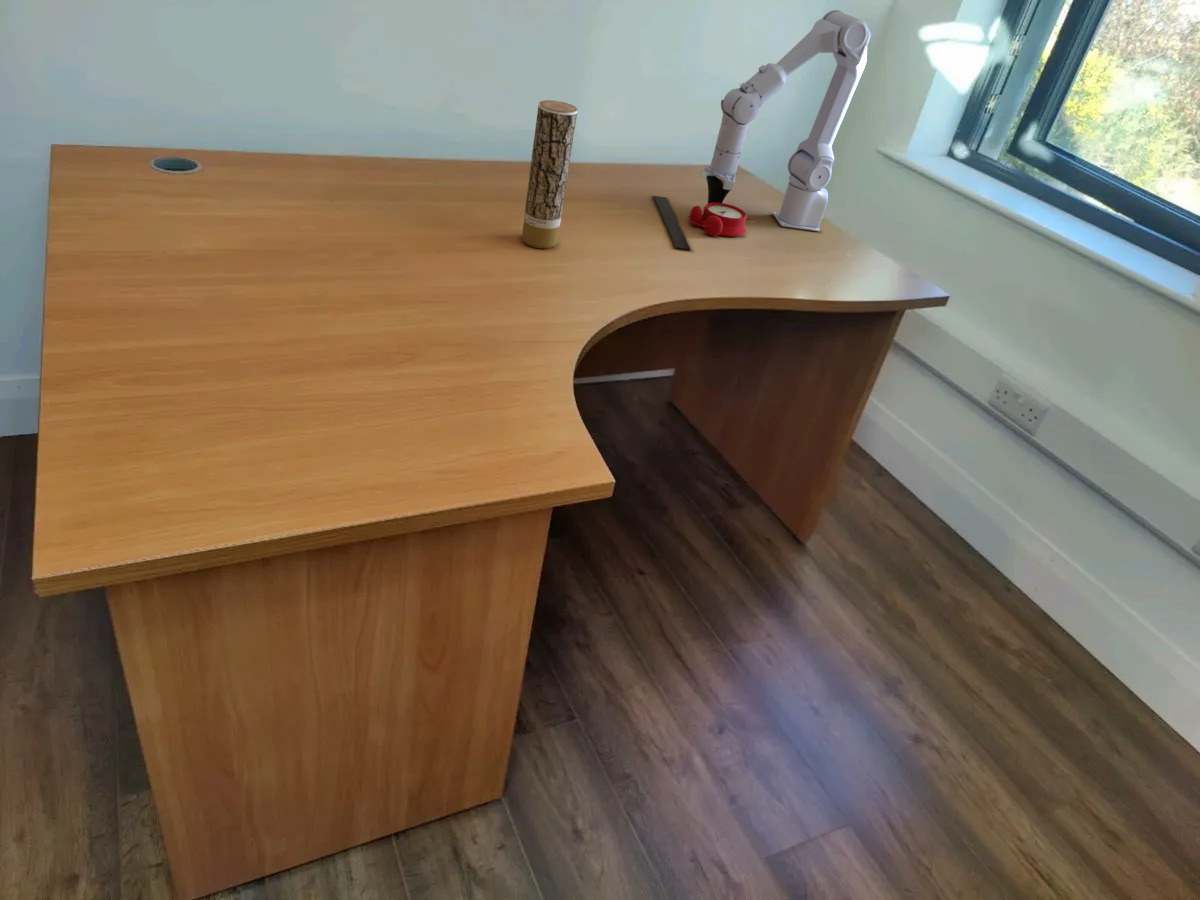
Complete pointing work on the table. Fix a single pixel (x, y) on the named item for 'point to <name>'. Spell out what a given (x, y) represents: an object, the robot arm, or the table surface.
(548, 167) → the paper tube
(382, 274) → the table surface
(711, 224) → the alarm clock
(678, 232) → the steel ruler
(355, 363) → the table surface
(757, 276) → the table surface
